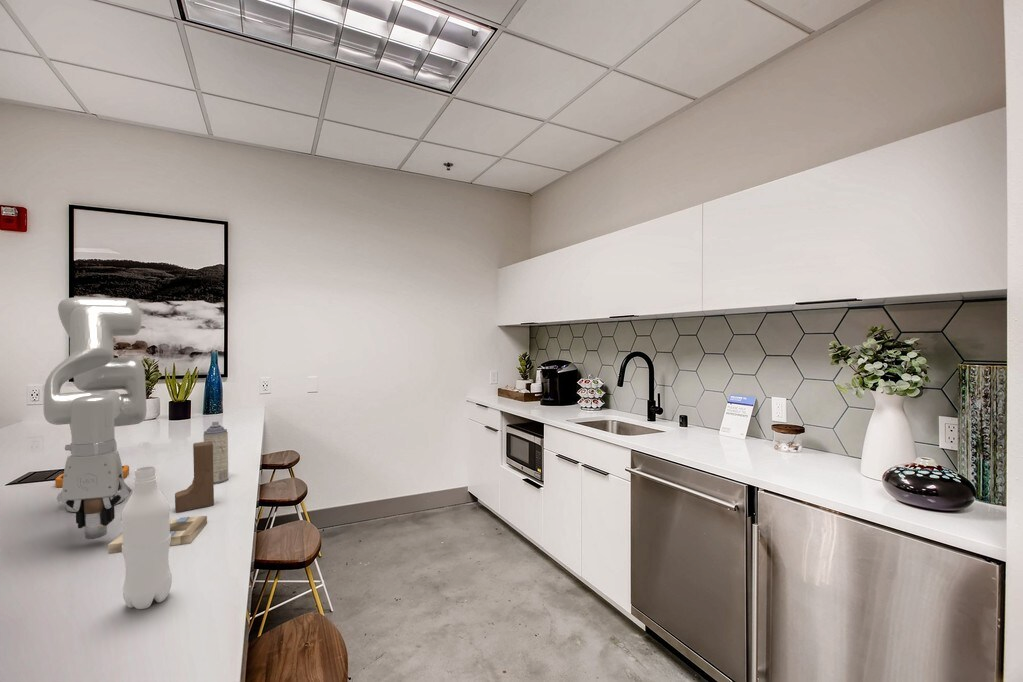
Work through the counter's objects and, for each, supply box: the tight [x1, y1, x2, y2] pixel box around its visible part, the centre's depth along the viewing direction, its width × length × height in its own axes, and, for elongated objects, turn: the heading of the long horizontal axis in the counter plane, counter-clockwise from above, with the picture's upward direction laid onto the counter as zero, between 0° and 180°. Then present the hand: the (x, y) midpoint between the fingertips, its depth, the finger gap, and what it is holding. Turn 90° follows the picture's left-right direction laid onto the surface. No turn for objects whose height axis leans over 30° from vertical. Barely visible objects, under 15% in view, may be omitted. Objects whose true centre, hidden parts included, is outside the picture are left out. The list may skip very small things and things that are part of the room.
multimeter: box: [54, 464, 130, 488], centre depth 156 cm, size 9×18×3 cm, turn 123°
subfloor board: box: [107, 515, 208, 554], centre depth 113 cm, size 16×12×2 cm
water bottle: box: [120, 465, 173, 610], centre depth 86 cm, size 7×7×25 cm
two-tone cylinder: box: [83, 498, 108, 541], centre depth 109 cm, size 4×4×12 cm
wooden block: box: [174, 441, 215, 513], centre depth 132 cm, size 9×4×18 cm, turn 127°
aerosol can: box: [203, 420, 229, 485], centre depth 155 cm, size 7×7×20 cm
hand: (95, 523), depth 109 cm, fingers closed on two-tone cylinder, 4 cm apart
